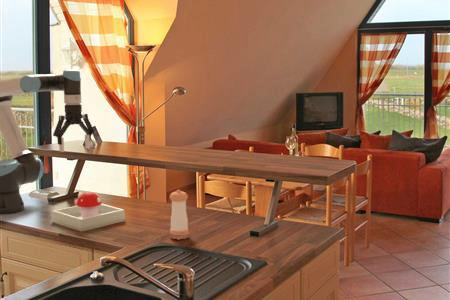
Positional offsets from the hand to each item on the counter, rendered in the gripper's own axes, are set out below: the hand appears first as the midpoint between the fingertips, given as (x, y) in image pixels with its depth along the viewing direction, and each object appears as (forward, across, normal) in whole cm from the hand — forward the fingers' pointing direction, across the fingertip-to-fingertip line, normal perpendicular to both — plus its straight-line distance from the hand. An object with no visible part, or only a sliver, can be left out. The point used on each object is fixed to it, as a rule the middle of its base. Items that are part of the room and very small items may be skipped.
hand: (74, 150), depth 268 cm
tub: (+28, -8, -21) cm, 36 cm away
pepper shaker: (+29, +2, -68) cm, 74 cm away
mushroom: (+28, -7, -21) cm, 35 cm away
